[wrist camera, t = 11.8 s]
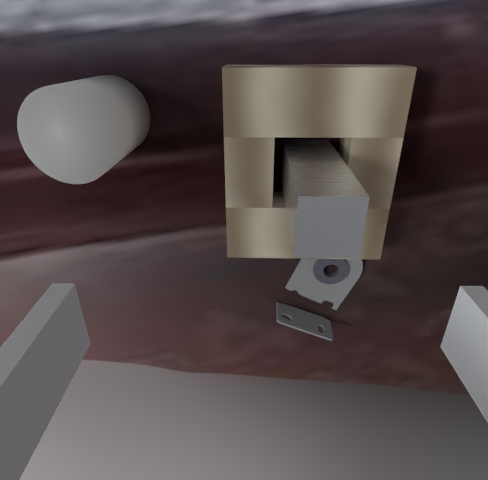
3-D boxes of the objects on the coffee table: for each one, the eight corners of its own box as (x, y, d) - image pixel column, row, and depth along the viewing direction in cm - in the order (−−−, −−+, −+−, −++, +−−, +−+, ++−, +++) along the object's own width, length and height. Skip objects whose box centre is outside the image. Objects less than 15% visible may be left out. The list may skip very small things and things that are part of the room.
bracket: (372, 250, 39) (382, 268, 36) (327, 320, 43) (332, 341, 40) (315, 229, 38) (320, 245, 35) (275, 302, 43) (276, 322, 40)
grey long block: (281, 182, 35) (293, 257, 23) (283, 139, 34) (297, 196, 21) (324, 182, 35) (359, 258, 23) (328, 139, 33) (369, 196, 21)
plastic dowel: (86, 153, 35) (34, 185, 27) (68, 76, 32) (3, 87, 24) (155, 150, 34) (123, 182, 26) (143, 72, 31) (103, 82, 23)
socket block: (230, 237, 38) (227, 257, 35) (225, 64, 31) (221, 67, 27) (368, 239, 38) (380, 259, 34) (398, 64, 30) (417, 67, 27)
